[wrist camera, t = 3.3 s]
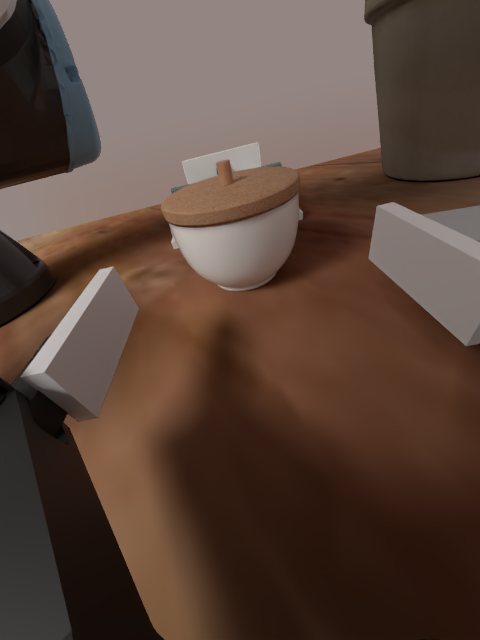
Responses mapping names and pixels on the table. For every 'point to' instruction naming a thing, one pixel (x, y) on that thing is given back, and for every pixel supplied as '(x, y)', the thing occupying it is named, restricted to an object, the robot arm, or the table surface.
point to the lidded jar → (236, 224)
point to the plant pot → (427, 86)
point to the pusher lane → (207, 166)
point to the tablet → (460, 220)
